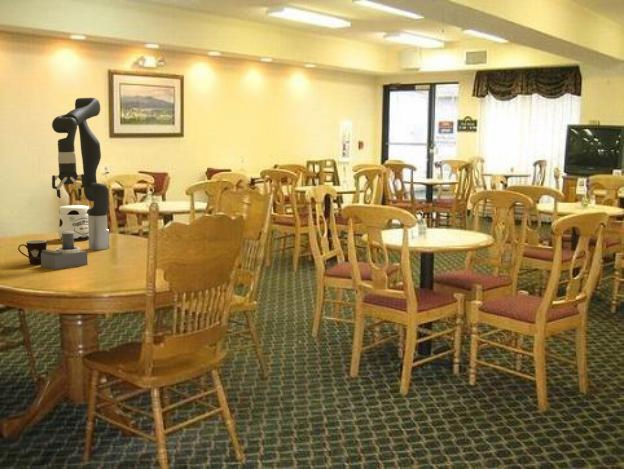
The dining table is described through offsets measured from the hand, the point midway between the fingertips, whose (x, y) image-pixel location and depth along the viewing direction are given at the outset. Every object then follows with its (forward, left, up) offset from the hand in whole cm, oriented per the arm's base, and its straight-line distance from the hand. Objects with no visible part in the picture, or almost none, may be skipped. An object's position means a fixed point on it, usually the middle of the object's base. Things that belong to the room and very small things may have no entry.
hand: (69, 197), depth 325 cm
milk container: (-37, -52, -29) cm, 71 cm away
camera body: (+10, +10, -29) cm, 32 cm away
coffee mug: (+16, -4, -29) cm, 34 cm away
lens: (+8, +10, -23) cm, 26 cm away
